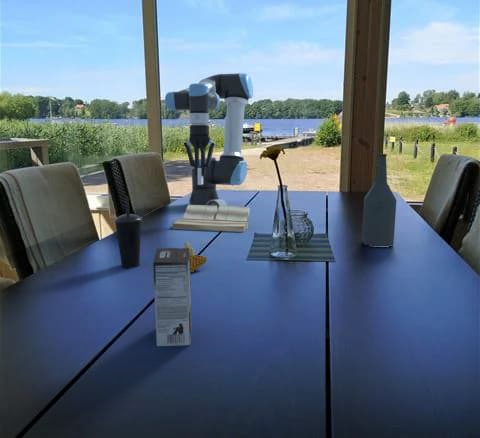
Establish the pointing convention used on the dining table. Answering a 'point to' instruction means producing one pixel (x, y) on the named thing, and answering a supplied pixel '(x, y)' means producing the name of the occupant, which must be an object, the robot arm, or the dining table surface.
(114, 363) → the dining table surface
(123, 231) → the drinking cup
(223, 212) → the plank
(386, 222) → the bottle
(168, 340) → the coffee box
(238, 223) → the laid board
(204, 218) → the plank
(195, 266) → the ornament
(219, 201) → the ceramic mug
